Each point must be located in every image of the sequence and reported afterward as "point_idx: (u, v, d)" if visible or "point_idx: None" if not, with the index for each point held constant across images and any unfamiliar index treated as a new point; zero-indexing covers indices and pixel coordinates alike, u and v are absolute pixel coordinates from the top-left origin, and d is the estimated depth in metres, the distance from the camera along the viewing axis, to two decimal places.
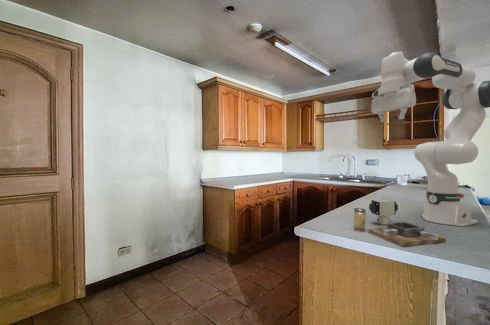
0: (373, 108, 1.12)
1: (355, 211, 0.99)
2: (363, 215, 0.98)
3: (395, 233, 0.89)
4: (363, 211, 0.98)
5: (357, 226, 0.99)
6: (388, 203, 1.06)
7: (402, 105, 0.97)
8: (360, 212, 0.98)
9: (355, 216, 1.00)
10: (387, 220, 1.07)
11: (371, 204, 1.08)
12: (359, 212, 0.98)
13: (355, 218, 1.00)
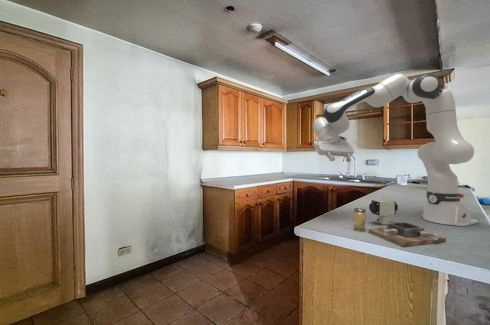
0: None
1: (355, 211, 0.99)
2: (363, 215, 0.98)
3: (395, 233, 0.89)
4: (363, 211, 0.98)
5: (357, 226, 0.99)
6: (388, 203, 1.06)
7: None
8: (360, 212, 0.98)
9: (355, 216, 1.00)
10: (387, 220, 1.07)
11: (371, 204, 1.08)
12: (359, 212, 0.98)
13: (355, 218, 1.00)
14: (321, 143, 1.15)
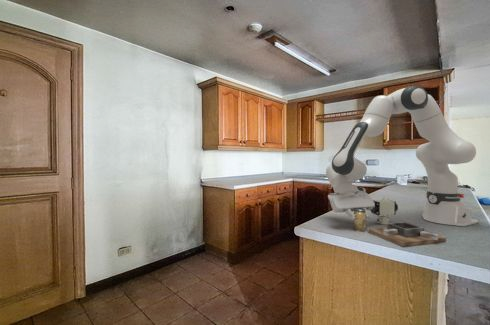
0: None
1: (355, 211, 0.99)
2: (363, 215, 0.98)
3: (395, 233, 0.89)
4: (363, 211, 0.98)
5: (357, 226, 0.99)
6: (388, 203, 1.06)
7: None
8: (360, 212, 0.98)
9: None
10: (387, 220, 1.07)
11: None
12: (359, 212, 0.98)
13: None
14: (336, 198, 1.03)
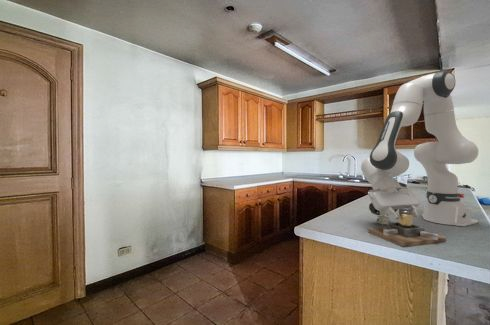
0: None
1: (401, 213, 0.90)
2: (410, 217, 0.89)
3: (395, 233, 0.89)
4: (410, 213, 0.89)
5: None
6: None
7: None
8: (407, 214, 0.89)
9: (401, 218, 0.90)
10: (387, 220, 1.07)
11: (371, 204, 1.08)
12: (406, 214, 0.89)
13: (401, 220, 0.90)
14: (378, 195, 0.94)
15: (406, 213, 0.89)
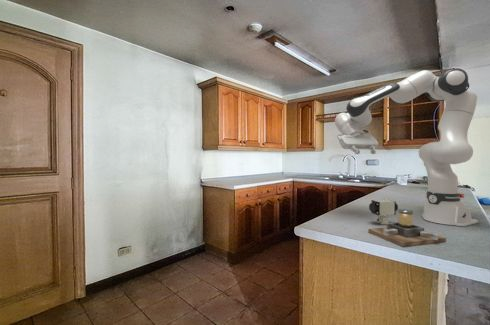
0: None
1: (401, 213, 0.90)
2: (410, 217, 0.89)
3: (395, 233, 0.89)
4: (410, 213, 0.89)
5: None
6: (388, 203, 1.06)
7: None
8: (407, 214, 0.89)
9: (401, 218, 0.90)
10: (387, 220, 1.07)
11: (371, 204, 1.08)
12: (406, 214, 0.89)
13: (401, 220, 0.90)
14: (345, 137, 1.18)
15: (406, 213, 0.89)
